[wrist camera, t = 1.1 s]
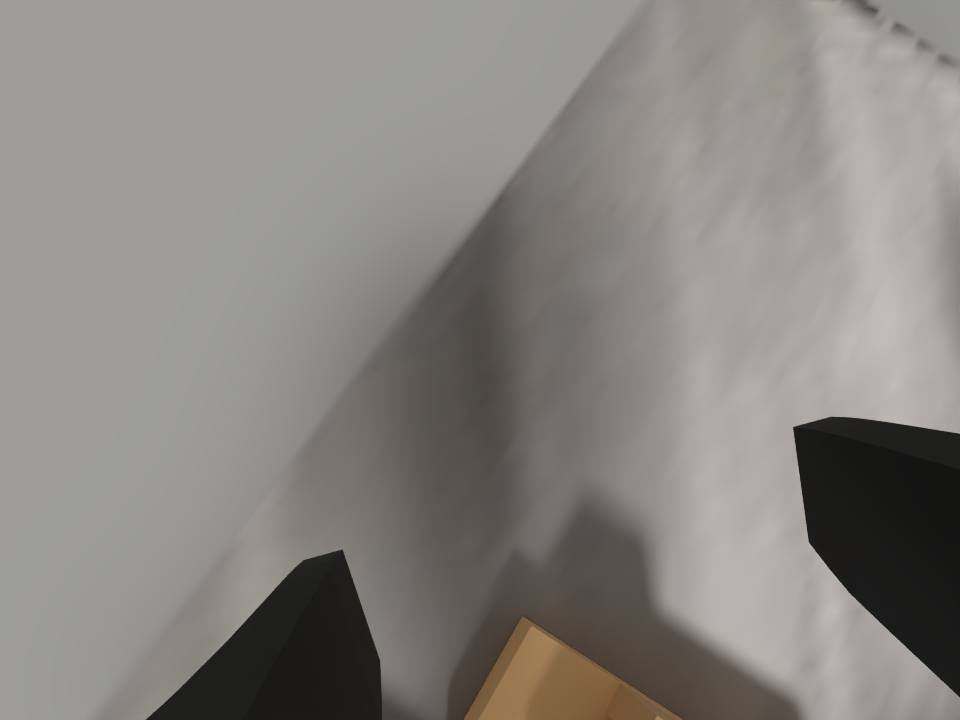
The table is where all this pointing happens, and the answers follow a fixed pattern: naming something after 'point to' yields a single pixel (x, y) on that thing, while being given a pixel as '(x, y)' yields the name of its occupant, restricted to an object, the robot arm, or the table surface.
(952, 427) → the table surface
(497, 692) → the bearing beam
